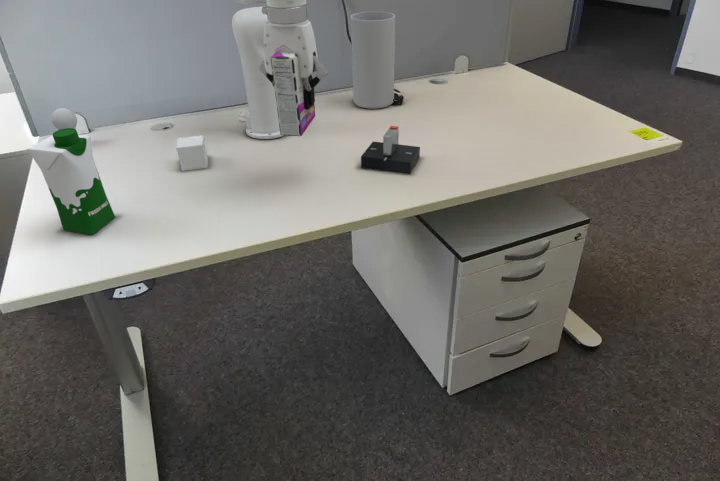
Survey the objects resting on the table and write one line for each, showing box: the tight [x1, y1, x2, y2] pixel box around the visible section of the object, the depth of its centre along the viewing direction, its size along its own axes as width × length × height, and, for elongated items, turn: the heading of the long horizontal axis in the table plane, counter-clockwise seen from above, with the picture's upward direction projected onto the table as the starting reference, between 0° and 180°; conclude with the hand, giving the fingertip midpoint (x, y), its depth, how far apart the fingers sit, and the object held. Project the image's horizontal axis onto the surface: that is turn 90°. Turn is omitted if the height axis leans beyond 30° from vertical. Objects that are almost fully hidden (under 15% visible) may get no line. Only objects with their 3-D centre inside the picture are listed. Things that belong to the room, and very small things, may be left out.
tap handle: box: [382, 125, 400, 157], centre depth 123 cm, size 6×2×5 cm, turn 161°
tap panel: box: [360, 141, 421, 175], centre depth 125 cm, size 12×10×3 cm
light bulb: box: [50, 107, 78, 131], centre depth 137 cm, size 6×6×10 cm
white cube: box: [175, 134, 208, 172], centre depth 126 cm, size 6×6×6 cm
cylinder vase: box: [350, 11, 396, 110], centre depth 154 cm, size 12×12×25 cm
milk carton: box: [26, 128, 116, 236], centre depth 101 cm, size 9×9×20 cm
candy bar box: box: [270, 52, 316, 137], centre depth 108 cm, size 11×5×16 cm, turn 168°
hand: (296, 105), depth 110 cm, fingers closed on candy bar box, 5 cm apart
